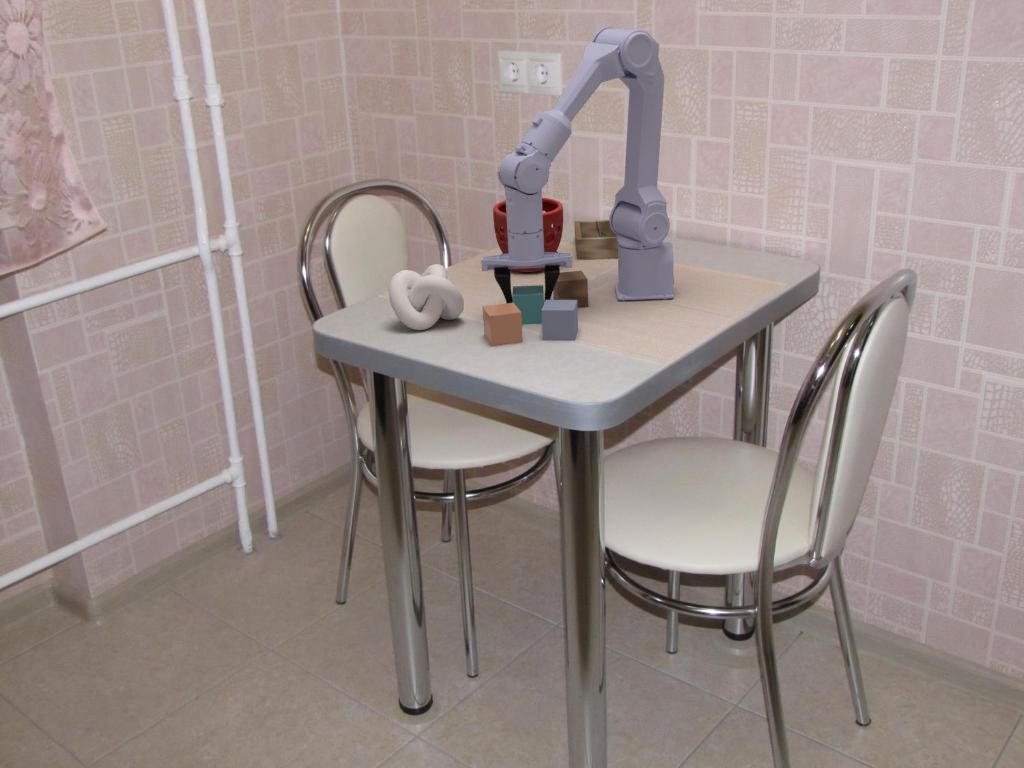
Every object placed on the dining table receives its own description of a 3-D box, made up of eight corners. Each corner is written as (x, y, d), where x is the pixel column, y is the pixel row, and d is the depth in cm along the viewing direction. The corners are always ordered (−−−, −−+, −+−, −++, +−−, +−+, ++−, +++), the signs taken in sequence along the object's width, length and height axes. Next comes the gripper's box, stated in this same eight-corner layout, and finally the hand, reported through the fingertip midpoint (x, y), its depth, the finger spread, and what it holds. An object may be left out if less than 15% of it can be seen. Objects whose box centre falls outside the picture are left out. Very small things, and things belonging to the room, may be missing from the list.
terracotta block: (514, 332, 169) (513, 302, 167) (522, 342, 165) (521, 312, 163) (484, 336, 168) (482, 306, 166) (491, 346, 164) (489, 316, 162)
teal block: (544, 313, 177) (543, 285, 175) (544, 324, 172) (543, 294, 170) (514, 314, 177) (512, 286, 175) (513, 325, 172) (512, 295, 170)
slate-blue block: (578, 329, 169) (577, 300, 167) (574, 341, 164) (573, 310, 162) (546, 329, 170) (545, 299, 168) (542, 340, 165) (541, 310, 163)
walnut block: (581, 298, 183) (581, 270, 181) (588, 307, 179) (587, 278, 177) (553, 301, 183) (552, 273, 181) (559, 310, 178) (558, 281, 176)
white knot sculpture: (478, 313, 178) (475, 262, 175) (447, 338, 168) (443, 284, 165) (418, 308, 182) (413, 258, 179) (384, 331, 172) (379, 279, 169)
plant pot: (482, 267, 203) (478, 206, 198) (533, 253, 211) (531, 193, 206) (527, 281, 194) (524, 216, 189) (579, 265, 201) (577, 203, 197)
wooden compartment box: (643, 237, 217) (643, 218, 215) (650, 257, 204) (650, 236, 202) (575, 240, 217) (574, 221, 216) (577, 259, 204) (576, 239, 203)
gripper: (570, 221, 172) (572, 301, 177) (481, 225, 173) (485, 304, 178) (571, 232, 166) (573, 314, 171) (478, 236, 166) (483, 318, 171)
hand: (528, 310), depth 174 cm, fingers open, 5 cm apart
